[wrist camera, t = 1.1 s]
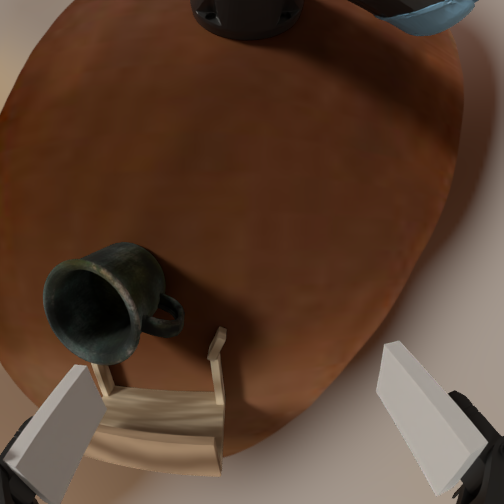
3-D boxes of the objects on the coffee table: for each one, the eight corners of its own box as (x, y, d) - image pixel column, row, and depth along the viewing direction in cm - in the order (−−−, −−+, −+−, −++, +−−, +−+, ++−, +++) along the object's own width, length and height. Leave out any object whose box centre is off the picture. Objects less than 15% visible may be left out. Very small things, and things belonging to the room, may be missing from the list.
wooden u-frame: (84, 323, 35) (28, 378, 20) (226, 325, 35) (219, 405, 20) (106, 390, 37) (70, 453, 22) (233, 398, 38) (232, 478, 23)
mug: (98, 228, 32) (43, 245, 20) (204, 257, 33) (185, 291, 22) (90, 303, 34) (44, 342, 22) (186, 334, 35) (167, 390, 24)
